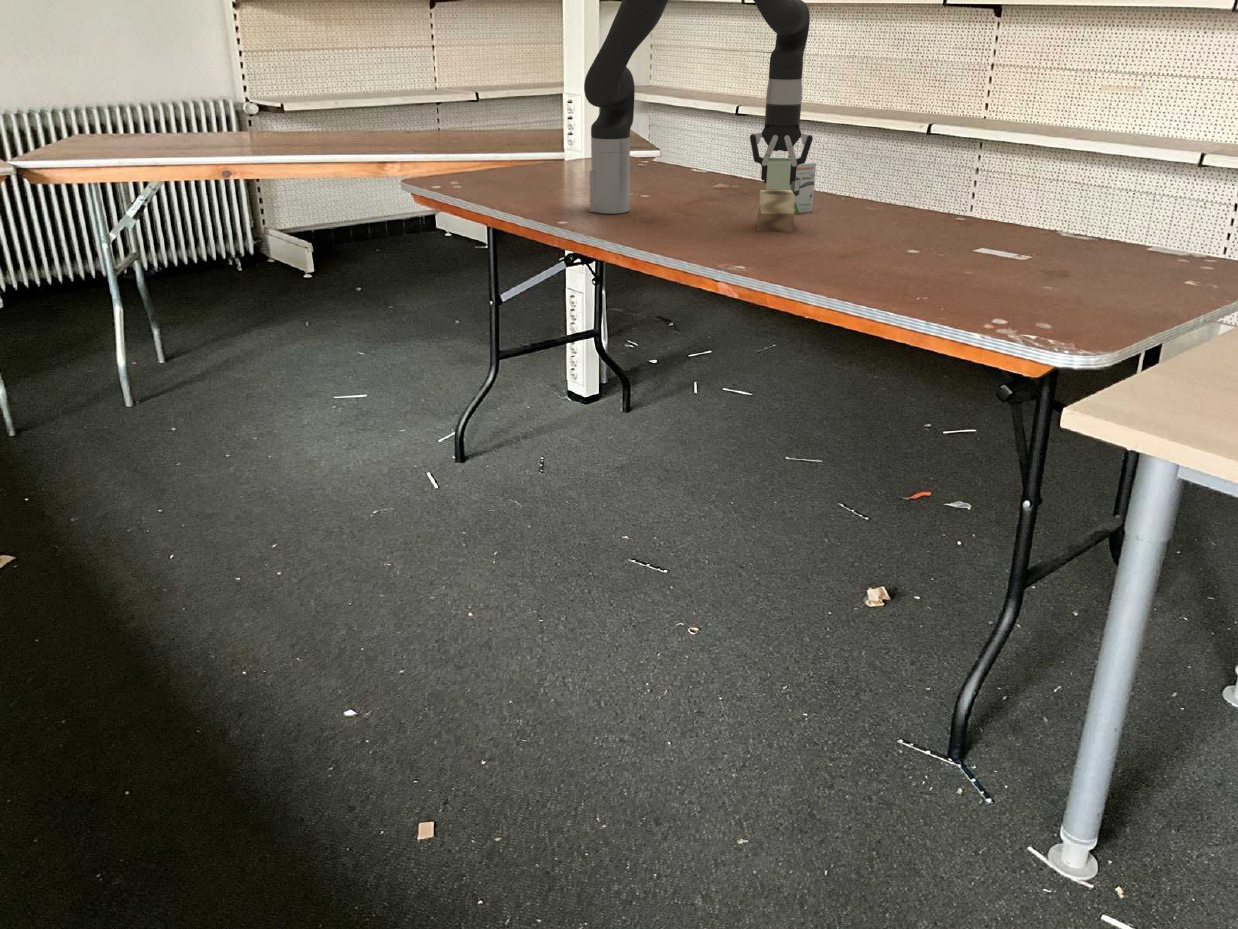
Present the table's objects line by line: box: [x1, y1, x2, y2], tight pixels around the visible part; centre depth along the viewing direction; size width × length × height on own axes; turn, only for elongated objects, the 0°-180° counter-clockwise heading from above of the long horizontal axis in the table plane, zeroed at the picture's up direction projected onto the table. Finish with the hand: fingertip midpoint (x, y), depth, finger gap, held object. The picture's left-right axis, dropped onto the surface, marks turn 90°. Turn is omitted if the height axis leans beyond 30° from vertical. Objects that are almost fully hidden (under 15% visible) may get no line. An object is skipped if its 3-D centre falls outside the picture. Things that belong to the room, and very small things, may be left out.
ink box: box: [774, 159, 817, 214], centre depth 234 cm, size 9×5×12 cm, turn 119°
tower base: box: [756, 208, 796, 233], centre depth 219 cm, size 8×8×4 cm
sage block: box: [765, 157, 791, 190], centre depth 215 cm, size 5×5×6 cm
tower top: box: [758, 189, 795, 214], centre depth 217 cm, size 7×7×4 cm
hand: (778, 182), depth 215 cm, fingers closed on sage block, 5 cm apart
